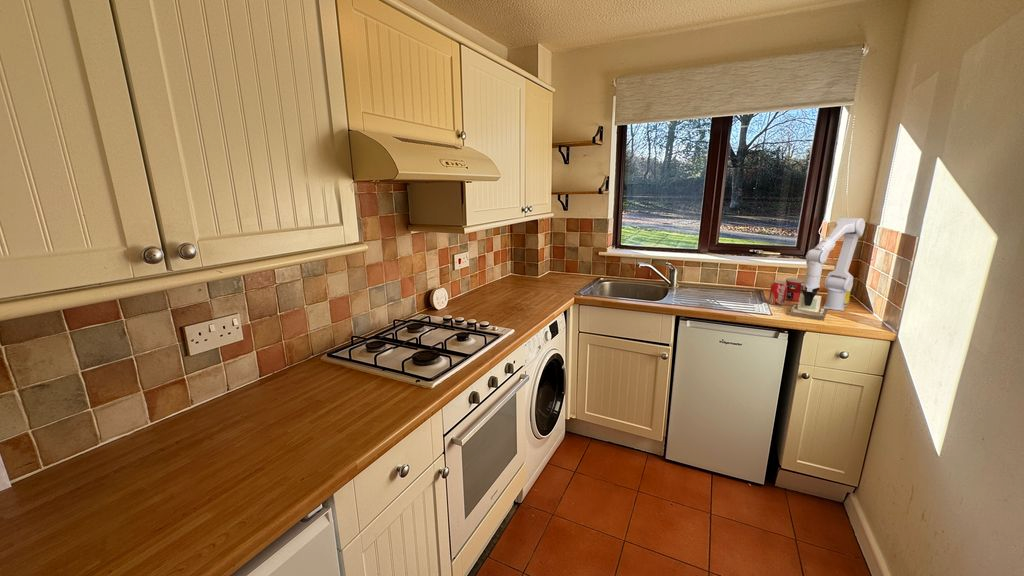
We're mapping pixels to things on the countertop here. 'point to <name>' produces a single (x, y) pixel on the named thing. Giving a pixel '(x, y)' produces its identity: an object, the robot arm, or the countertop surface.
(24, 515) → the countertop surface
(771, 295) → the soda can
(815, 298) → the picture frame
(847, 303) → the pill bottle
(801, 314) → the notched board
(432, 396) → the countertop surface
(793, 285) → the canned food
